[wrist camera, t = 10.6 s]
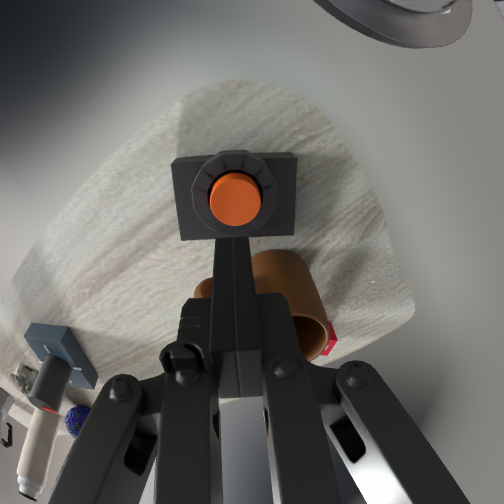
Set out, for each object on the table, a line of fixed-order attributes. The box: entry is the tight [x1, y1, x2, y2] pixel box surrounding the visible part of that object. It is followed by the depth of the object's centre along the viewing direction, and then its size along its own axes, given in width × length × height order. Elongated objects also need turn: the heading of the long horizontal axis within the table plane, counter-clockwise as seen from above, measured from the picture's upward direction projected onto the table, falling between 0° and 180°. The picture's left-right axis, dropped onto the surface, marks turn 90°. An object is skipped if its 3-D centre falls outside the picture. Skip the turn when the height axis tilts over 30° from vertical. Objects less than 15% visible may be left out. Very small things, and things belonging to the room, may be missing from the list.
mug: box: [194, 250, 330, 362], centre depth 25 cm, size 12×8×9 cm, turn 61°
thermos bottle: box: [17, 407, 61, 502], centre depth 38 cm, size 8×8×28 cm
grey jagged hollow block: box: [10, 364, 38, 397], centre depth 39 cm, size 11×8×4 cm
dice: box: [320, 323, 337, 355], centre depth 34 cm, size 3×3×3 cm
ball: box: [65, 406, 90, 438], centre depth 43 cm, size 8×8×8 cm
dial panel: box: [24, 323, 98, 390], centre depth 34 cm, size 12×9×3 cm
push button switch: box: [171, 150, 297, 241], centre depth 23 cm, size 8×10×4 cm
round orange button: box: [210, 173, 261, 226], centre depth 21 cm, size 4×4×2 cm
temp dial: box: [28, 355, 72, 416], centre depth 29 cm, size 5×5×8 cm
